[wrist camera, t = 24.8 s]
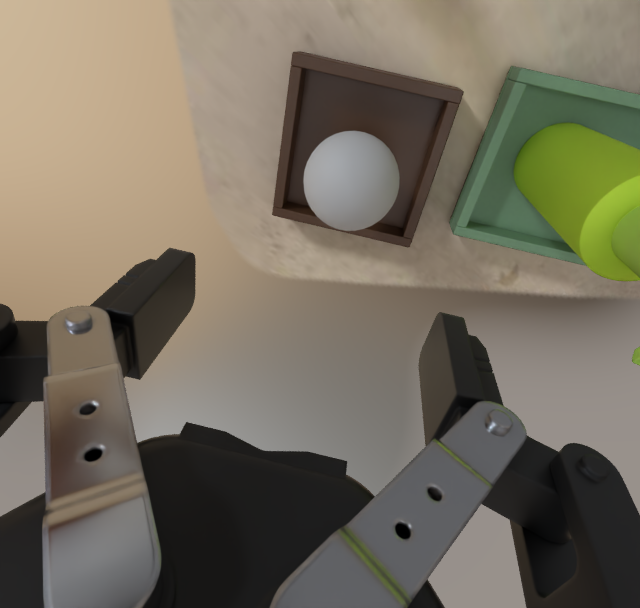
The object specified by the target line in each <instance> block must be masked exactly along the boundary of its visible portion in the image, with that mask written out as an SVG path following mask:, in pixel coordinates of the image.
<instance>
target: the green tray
mask: <svg viewBox="0 0 640 608" xmlns="http://www.w3.org/2000/svg"><path fill="white" fill-rule="evenodd" d="M558 123H576V124H579V125H582V126H584V127H587V128H589V129H592V130H594V131H596V132H599V133H601V134H603V135H606V136H608V137H611V138H613V139H615V140H618V141H620V142H623V143H625V144H627V145H630V146H632V147H634V148H637V149H639V150H640V95H639V94H634V93H630V92H625V91H621V90H617V89H612V88H608V87H603V86H599V85H595V84H590V83H586V82H582V81H577V80H573V79H568V78H564V77H560V76H555V75H551V74H546V73H542V72H538V71H533V70H529V69H525V68H520V67H514V66H511V68H510V70H509V73H508V75H507V78H506V80H505V83H504V85H503V88H502V90H501V93H500V95H499V98H498V100H497V103H496V105H495V108H494V111H493V113H492V116H491V118H490V121H489V123H488V126H487V128H486V131H485V133H484V136H483V138H482V141H481V143H480V146H479V148H478V151H477V154H476V156H475V159H474V161H473V164H472V166H471V169H470V171H469V174H468V176H467V179H466V181H465V184H464V186H463V189H462V191H461V194H460V197H459V199H458V202H457V204H456V207H455V209H454V212H453V214H452V217H451V219H450V222H449V224H450V226H451V229H452V232H453V234H454V235H458V236H462V237H466V238H471V239H475V240H479V241H483V242H488V243H492V244H496V245H500V246H505V247H509V248H513V249H517V250H522V251H526V252H530V253H534V254H539V255H543V256H547V257H551V258H556V259H560V260H564V261H568V262H573V263H577V264H581V265H585V266H587V265H586V264H585V263H584V262H583V261H582V260H581V259H580V257H579V256H578V255H577V254H576V253H575V252H574V251H573V250H572V248H571V247H570V246H569V245H568V244H567V243H566V242H565V241H564V240H563V238H562V237H561V236H560V235H559V234H558V233H557V232H556V231H555V230H554V228H553V227H552V226H551V225H550V224H549V223H548V222H547V221H546V219H545V218H544V217H543V216H542V215H541V214H540V213H539V212H538V211H537V209H536V208H535V207H534V206H533V205H532V204H531V203H530V202H529V200H528V199H527V198H526V197H525V196H524V195H523V194H522V193H521V192H520V190H519V189H518V187H517V185H516V183H515V180H514V165H515V161H516V158H517V156H518V153H519V152H520V150H521V148H522V147H523V146H524V144H525V143H526V142H527V141H528V140H529V139H530V138H531V137H532V136H533V135H534V134H536V133H537V132H539V131H540V130H542V129H544V128H546V127H548V126H551V125H554V124H558Z"/></svg>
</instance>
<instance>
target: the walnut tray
mask: <svg viewBox="0 0 640 608" xmlns="http://www.w3.org/2000/svg"><path fill="white" fill-rule="evenodd" d="M291 65H292V66H291V70H290V78H289V86H288V94H287V102H286V110H285V118H284V126H283V134H282V141H281V149H280V157H279V165H278V173H277V181H276V189H275V197H274V205H273V206H274V207H273V213H272V215H274V216H278V217H282V218H286V219H291V220H295V221H299V222H303V223H308V224H312V225H316V226H320V227H325V228H329V229H333V230H337V231H342V232H346V233H350V234H354V235H358V236H363V237H367V238H371V239H375V240H380V241H384V242H388V243H392V244H397V245H401V246H405V247H410V244H411V242H412V239H413V236H414V233H415V230H416V227H417V224H418V222H419V219H420V216H421V213H422V210H423V207H424V204H425V201H426V199H427V196H428V193H429V190H430V187H431V184H432V181H433V179H434V176H435V173H436V170H437V167H438V164H439V161H440V158H441V156H442V153H443V150H444V147H445V144H446V141H447V138H448V135H449V133H450V130H451V127H452V124H453V121H454V118H455V115H456V113H457V110H458V107H459V103H460V101H461V98H462V95H463V92H464V91H462V90H461V89H459V88H457V87H453V86H448V85H444V84H440V83H435V82H431V81H427V80H422V79H418V78H413V77H409V76H405V75H400V74H396V73H392V72H387V71H383V70H379V69H374V68H370V67H366V66H361V65H357V64H352V63H348V62H344V61H339V60H335V59H331V58H326V57H322V56H318V55H313V54H309V53H304V52H293V54H292V62H291ZM344 131H360V132H365V133H368V134H370V135H373V136H375V137H376V138H378V139H379V140H381V141H382V142H383V143H384V144H385V145H386V146H387V147H388V148H389V149H390V151H391V152H392V154H393V155H394V157H395V160H396V162H397V165H398V170H399V177H400V178H399V190H398V194H397V197H396V200H395V202H394V204H393V206H392V207H391V209H390V210H389V211H388V213H387V214H386V215H385V216H384V217H383V218H382V219H381V220H380V221H378V222H377V223H375V224H374V225H372V226H369V227H367V228H365V229H361V230H356V231H345V230H339V229H336V228H333V227H331V226H329V225H327V224H326V223H324V222H323V221H322V220H320V219H319V218H318V217H317V216H316V214H315V213H314V212H313V211H312V209H311V208H310V206H309V204H308V202H307V199H306V196H305V192H304V182H303V180H304V171H305V167H306V164H307V161H308V160H309V158H310V156H311V154H312V152H313V151H314V150H315V149H316V147H317V146H318V145H319V144H320V143H321V142H323V141H324V140H325V139H326V138H328V137H330V136H332V135H334V134H336V133H340V132H344Z"/></svg>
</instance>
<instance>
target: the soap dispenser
mask: <svg viewBox="0 0 640 608" xmlns="http://www.w3.org/2000/svg"><path fill="white" fill-rule="evenodd" d="M514 180H515V183H516V185H517V187H518V189H519V190H520V192H521V193H522V194H523V195H524V196H525V197H526V198H527V199H528V200H529V202H530V203H531V204H532V205H533V206H534V207H535V208H536V209H537V211H538V212H539V213H540V214H541V215H542V216H543V217H544V218H545V219H546V221H547V222H548V223H549V224H550V225H551V226H552V227H553V228H554V230H555V231H556V232H557V233H558V234H559V235H560V236H561V237H562V238H563V240H564V241H565V242H566V243H567V244H568V245H569V246H570V247H571V248H572V250H573V251H574V252H575V253H576V254H577V255H578V256H579V257H580V259H581V260H582V261H583V262H584V263H585V264H586V265H587V266H588V267H589V268H590V269H591V270H592V271H593V272H595V273H596V274H598V275H600V276H602V277H604V278H607V279H611V280H617V281H637V280H640V150H639V149H637V148H634V147H632V146H630V145H627V144H625V143H623V142H620V141H618V140H615V139H613V138H611V137H608V136H606V135H603V134H601V133H599V132H596V131H594V130H592V129H589V128H587V127H584V126H582V125H579V124H576V123H558V124H554V125H551V126H548V127H546V128H544V129H542V130H540V131H539V132H537V133H536V134H534V135H533V136H532V137H531V138H530V139H529V140H528V141H527V142H526V143H525V144H524V146H523V147H522V148H521V150H520V152H519V153H518V156H517V158H516V161H515V165H514ZM632 362H633V363H635V364H637V365H640V347H638V348H637V349H635V351H634V354H633V357H632Z"/></svg>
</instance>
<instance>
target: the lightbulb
mask: <svg viewBox="0 0 640 608" xmlns="http://www.w3.org/2000/svg"><path fill="white" fill-rule="evenodd" d="M399 178H400V177H399V170H398V165H397V162H396V160H395V157H394V155H393V154H392V152H391V151H390V149H389V148H388V147H387V146H386V145H385V144H384V143H383V142H382V141H381V140H379V139H378V138H376V137H375V136H373V135H370V134H368V133H365V132H360V131H344V132H340V133H336V134H334V135H332V136H330V137H328V138H326V139H325V140H324V141H323V142H321V143H320V144H319V145H318V146H317V147H316V149H315V150H314V151H313V152H312V154H311V156H310V158H309V160H308V161H307V164H306V167H305V171H304V180H303V182H304V192H305V196H306V199H307V202H308V204H309V206H310V208H311V209H312V211H313V212H314V213H315V214H316V216H317V217H318V218H319V219H320V220H322V221H323V222H324V223H326V224H327V225H329V226H331V227H333V228H336V229H339V230H345V231H356V230H361V229H365V228H367V227H369V226H372V225H374V224H375V223H377V222H378V221H380V220H381V219H382V218H383V217H384V216H385V215H386V214H387V213H388V211H389V210H390V209H391V207H392V206H393V204H394V202H395V200H396V197H397V194H398V190H399Z"/></svg>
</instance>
